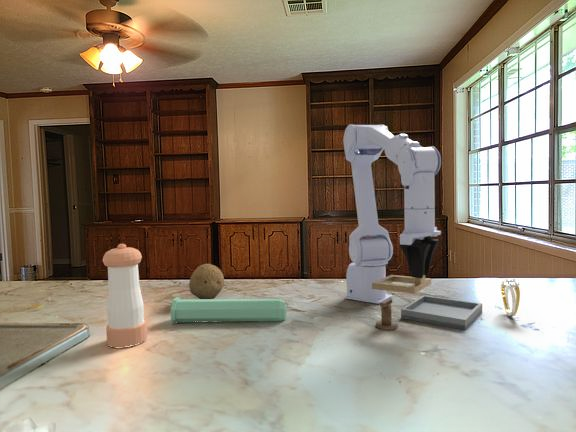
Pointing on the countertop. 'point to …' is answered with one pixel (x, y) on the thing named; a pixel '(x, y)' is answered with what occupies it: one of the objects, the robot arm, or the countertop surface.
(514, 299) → the ring
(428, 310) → the tray
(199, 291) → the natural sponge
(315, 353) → the countertop surface
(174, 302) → the container
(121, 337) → the salt shaker
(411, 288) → the wooden frame with post
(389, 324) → the brown stamp
